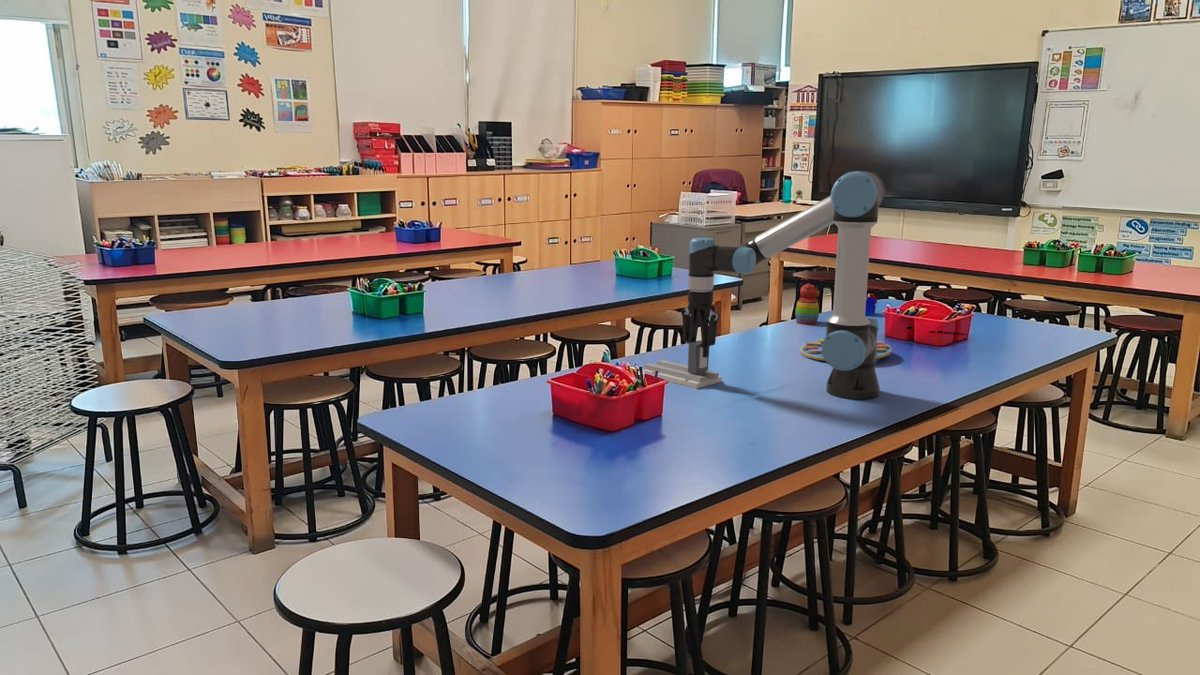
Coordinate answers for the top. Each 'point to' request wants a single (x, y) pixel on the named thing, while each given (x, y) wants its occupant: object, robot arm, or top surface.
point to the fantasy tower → (870, 305)
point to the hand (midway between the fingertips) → (698, 366)
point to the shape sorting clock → (815, 352)
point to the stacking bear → (807, 306)
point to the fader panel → (686, 383)
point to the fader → (695, 359)
